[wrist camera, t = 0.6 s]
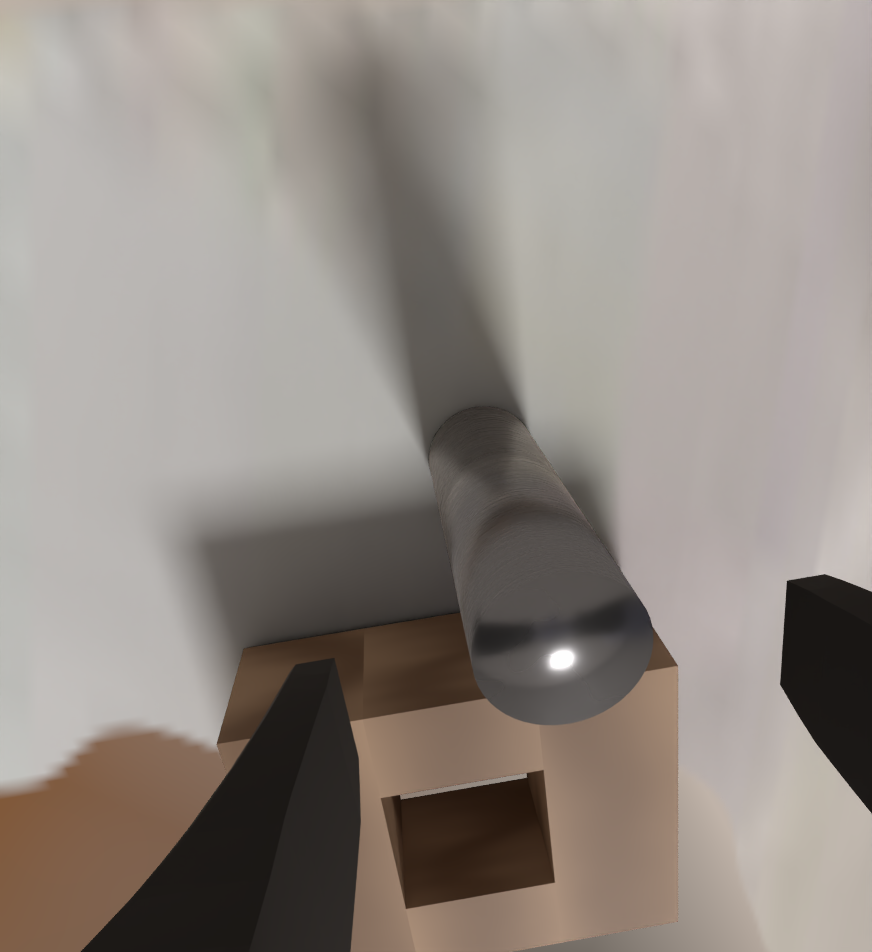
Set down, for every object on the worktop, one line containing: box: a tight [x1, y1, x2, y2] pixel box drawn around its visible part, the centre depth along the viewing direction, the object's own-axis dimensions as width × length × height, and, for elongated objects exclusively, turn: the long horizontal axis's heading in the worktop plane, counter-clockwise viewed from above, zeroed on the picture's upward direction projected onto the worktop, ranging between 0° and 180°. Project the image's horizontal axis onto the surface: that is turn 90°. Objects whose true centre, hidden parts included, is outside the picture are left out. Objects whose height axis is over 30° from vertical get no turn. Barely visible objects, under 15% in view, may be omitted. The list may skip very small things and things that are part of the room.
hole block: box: [217, 613, 678, 952], centre depth 21 cm, size 12×10×4 cm
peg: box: [429, 406, 653, 725], centre depth 15 cm, size 3×3×9 cm
